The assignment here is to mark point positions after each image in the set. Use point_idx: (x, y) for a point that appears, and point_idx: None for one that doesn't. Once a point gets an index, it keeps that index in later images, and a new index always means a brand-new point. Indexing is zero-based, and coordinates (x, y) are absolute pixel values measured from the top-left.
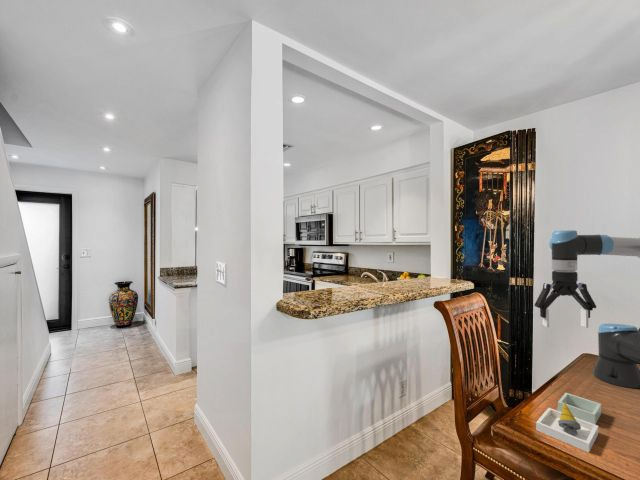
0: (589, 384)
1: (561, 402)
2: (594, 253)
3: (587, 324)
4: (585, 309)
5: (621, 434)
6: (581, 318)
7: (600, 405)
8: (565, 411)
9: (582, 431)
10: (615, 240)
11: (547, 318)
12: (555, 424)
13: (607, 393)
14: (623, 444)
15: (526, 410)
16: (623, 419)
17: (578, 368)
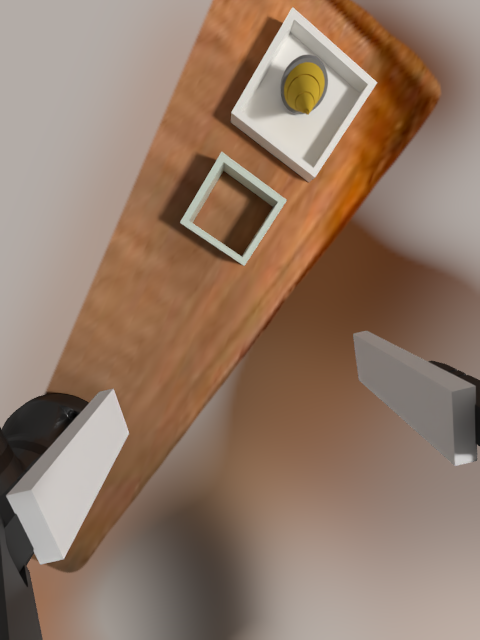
0: (144, 384)
1: (278, 199)
2: None
3: (94, 401)
4: (23, 527)
5: (179, 136)
6: (105, 463)
7: (183, 216)
8: (313, 87)
9: (266, 109)
10: None
11: (403, 351)
12: (316, 125)
13: (121, 345)
14: (195, 89)
15: (353, 189)
16: (143, 214)
17: (133, 475)
